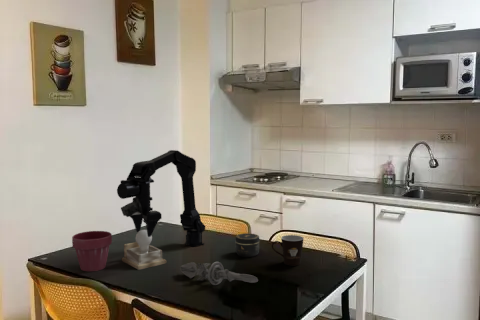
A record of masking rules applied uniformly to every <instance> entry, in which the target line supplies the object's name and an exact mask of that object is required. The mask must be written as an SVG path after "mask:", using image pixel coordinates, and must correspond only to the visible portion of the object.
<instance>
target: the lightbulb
mask: <svg viewBox="0 0 480 320" xmlns="http://www.w3.org/2000/svg"><path fill="white" fill-rule="evenodd" d="M152 235H153V234H152ZM152 235H151V237H148V235H147V229H140V231H139V232H136V234H135V242H137V243H138V245H139V246H140V249H141V254H144V253H148V248H149V245H151V243H152V240H153V236H152Z"/></svg>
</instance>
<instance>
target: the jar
mask: <svg viewBox="0 0 480 320" xmlns="http://www.w3.org/2000/svg"><path fill="white" fill-rule="evenodd" d="M234 240H235V241H234V242H235V253H236V254H237V256H239V257H242V258H253V257H256V256H257V255H258V254H260V253H259V252H260V236H259V235H258V234H255V233H248V232H247V233H239V234H237V235H235V239H234Z"/></svg>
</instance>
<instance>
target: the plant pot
mask: <svg viewBox="0 0 480 320" xmlns="http://www.w3.org/2000/svg"><path fill="white" fill-rule="evenodd" d="M112 236H113V235H112V233H111V232H109V231H104V230H92V231H91V230H89V231H83V232H79V233H76V234H74V235H73V236H72V238H71V240H72V241H71V242H72V243H71V244H72V248H73V249H75V252H76V254H75V255H76V256H77V260H78V264H79V268H80V270H81V271H83V272H98V271H102V270H103V269H105V268H106V266H107V261H108V256H109V250H110V245H112V243H113V237H112Z"/></svg>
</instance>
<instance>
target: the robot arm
mask: <svg viewBox="0 0 480 320" xmlns="http://www.w3.org/2000/svg"><path fill="white" fill-rule="evenodd" d="M169 164H173V165H174V166H175V168H176V172H177V174H178V175H179V176H180V180H181V188H182V199H183V209H184V210H183V212H182V213H180V215H179V219H180V221H179V222H180V224H181V226H182V229H183V231H184V232H185V231H186V235H185V242H184V245H187V246H189V247H193V248H194V247H198V246H202V245H205V242H203V233H204V232H206V231H205V230H206V225H205V223H203V222H202V219H201V215H200V212H198V210H197V208H196V198H195V187H194V176H195V173H196V171H197V170H196V169H197V162H196V159H195V158H193V157H190V156H189V155H186V154H184V153H183V152H181V151H179V150H178V149H175V150H174V149H173V150H172V149H170V150H168V151H167V152H165V153H163V154H160V155H158V156H156V157H153V158H151V159H150V160H145V161H142V160H141V161H138V162H135V163H134V164H133V165H132V167H131V169H130V172H129V173H128V175H127V178H126V179H125V180H124V179H122V180H120V184H119V185H117V189H116V193H117V196H118V197H119V199H120V200H125V199H129V198H132V201H131V202H129V203H126V204H125V205H124V206H122V207H120V210H121V212H122V215H123V216H124V217H126V218H131V220H132V222H133V224H134V228H135V230H136V233H138V232H139V231H140V230H142V229H141V228H142V223H144V224H145V226H146V230H147V235H148V237H151V235H153V234H154V233H153V232H154V230H155V229H156V227H157V224H158V222H159V221H160V220H162V213H161V212H160V211H158V210H153V207H151V201H153V197H151V184H152V183H154V182H155V180H154V179H152V176H153V175H154V174H156V171H158V170H159V169H161V168H163V167H165V166H167V165H169Z"/></svg>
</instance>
